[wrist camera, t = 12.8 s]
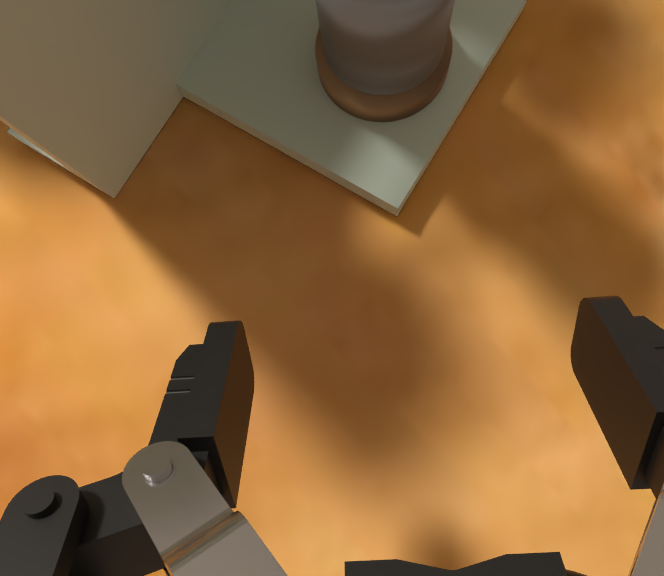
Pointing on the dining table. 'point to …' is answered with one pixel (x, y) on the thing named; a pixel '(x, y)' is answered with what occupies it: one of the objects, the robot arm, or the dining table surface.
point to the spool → (383, 55)
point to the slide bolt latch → (217, 85)
